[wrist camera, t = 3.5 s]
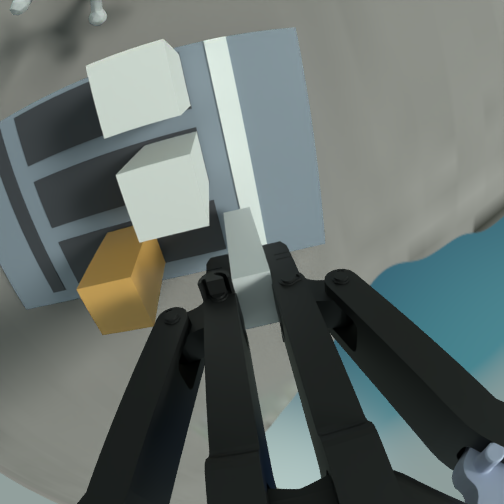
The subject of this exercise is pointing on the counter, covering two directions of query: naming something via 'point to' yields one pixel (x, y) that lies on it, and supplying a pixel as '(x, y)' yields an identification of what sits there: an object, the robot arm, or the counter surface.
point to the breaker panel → (267, 143)
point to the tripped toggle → (123, 282)
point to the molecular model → (95, 18)
